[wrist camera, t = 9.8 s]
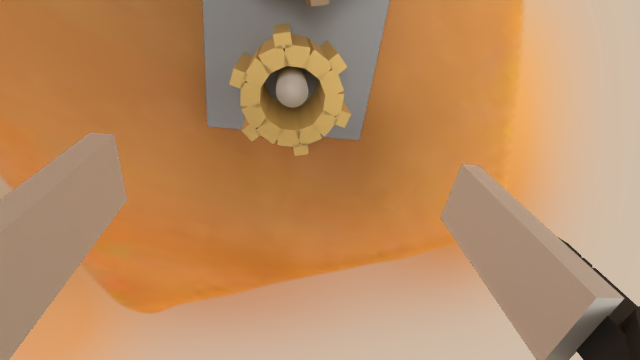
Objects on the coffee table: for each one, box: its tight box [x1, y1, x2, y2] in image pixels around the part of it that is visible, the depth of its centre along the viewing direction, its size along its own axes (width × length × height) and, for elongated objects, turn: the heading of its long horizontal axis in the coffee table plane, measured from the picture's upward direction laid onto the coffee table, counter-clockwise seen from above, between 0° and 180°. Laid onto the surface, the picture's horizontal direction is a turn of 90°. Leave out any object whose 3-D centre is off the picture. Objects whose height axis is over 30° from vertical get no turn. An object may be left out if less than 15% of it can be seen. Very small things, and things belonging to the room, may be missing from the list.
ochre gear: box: [229, 23, 351, 156], centre depth 25 cm, size 8×8×6 cm
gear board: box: [203, 0, 390, 140], centre depth 23 cm, size 20×14×8 cm
